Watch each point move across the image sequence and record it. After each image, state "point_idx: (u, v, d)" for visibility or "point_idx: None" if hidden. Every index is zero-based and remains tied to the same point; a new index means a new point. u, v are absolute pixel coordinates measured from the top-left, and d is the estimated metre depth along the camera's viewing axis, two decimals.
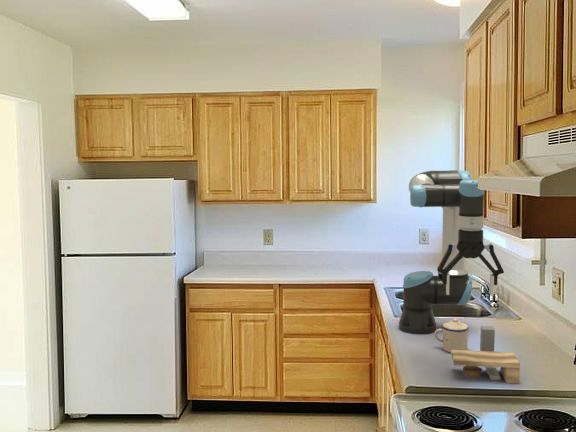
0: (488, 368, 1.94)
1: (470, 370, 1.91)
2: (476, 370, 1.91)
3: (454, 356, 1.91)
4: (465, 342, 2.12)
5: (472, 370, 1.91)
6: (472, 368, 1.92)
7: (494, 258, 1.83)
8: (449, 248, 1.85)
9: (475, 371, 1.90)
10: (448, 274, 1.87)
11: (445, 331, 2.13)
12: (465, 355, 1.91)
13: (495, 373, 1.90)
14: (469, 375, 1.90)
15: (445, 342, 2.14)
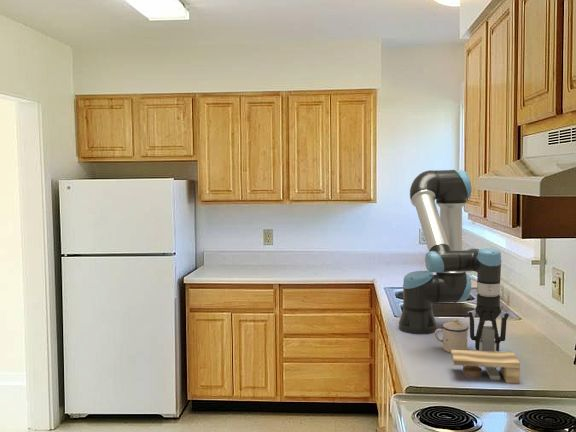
0: (488, 368, 1.94)
1: (470, 370, 1.91)
2: (476, 370, 1.91)
3: (454, 356, 1.91)
4: (465, 342, 2.12)
5: (472, 370, 1.91)
6: (472, 368, 1.92)
7: (503, 325, 2.00)
8: (470, 316, 2.01)
9: (475, 371, 1.90)
10: (480, 341, 2.02)
11: (445, 331, 2.13)
12: (465, 355, 1.91)
13: (495, 373, 1.90)
14: (469, 375, 1.90)
15: (445, 342, 2.14)
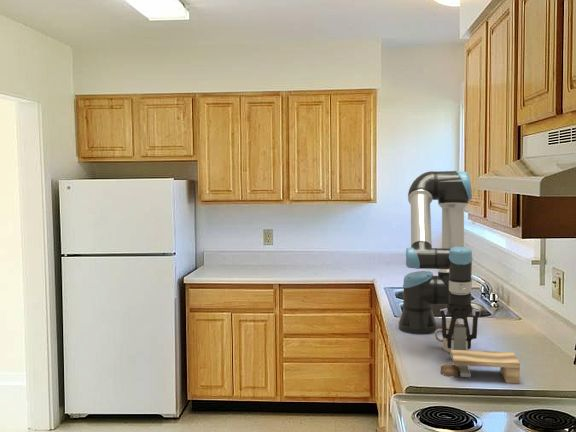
0: (459, 366, 1.96)
1: (448, 369, 1.92)
2: (453, 369, 1.92)
3: (454, 356, 1.91)
4: None
5: (450, 368, 1.92)
6: (449, 367, 1.93)
7: (475, 323, 2.01)
8: (442, 314, 2.03)
9: (452, 370, 1.91)
10: (452, 339, 2.04)
11: None
12: (465, 355, 1.91)
13: (466, 370, 1.91)
14: (447, 374, 1.91)
15: (445, 342, 2.14)
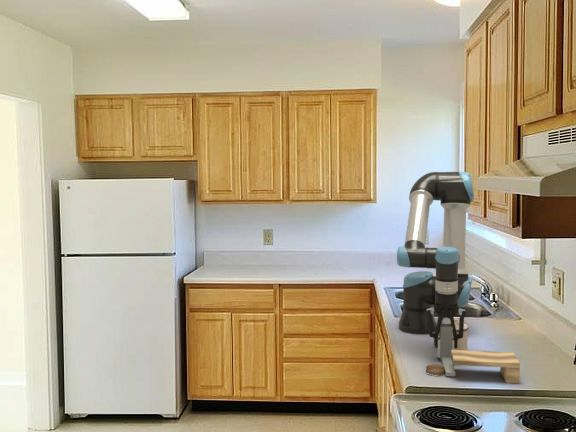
0: (445, 365, 1.96)
1: (433, 369, 1.93)
2: (439, 369, 1.93)
3: (454, 356, 1.91)
4: (465, 342, 2.12)
5: (435, 368, 1.93)
6: (435, 367, 1.94)
7: (461, 323, 2.02)
8: (428, 314, 2.04)
9: (437, 370, 1.92)
10: (439, 339, 2.05)
11: None
12: (465, 355, 1.91)
13: (451, 370, 1.92)
14: None
15: None
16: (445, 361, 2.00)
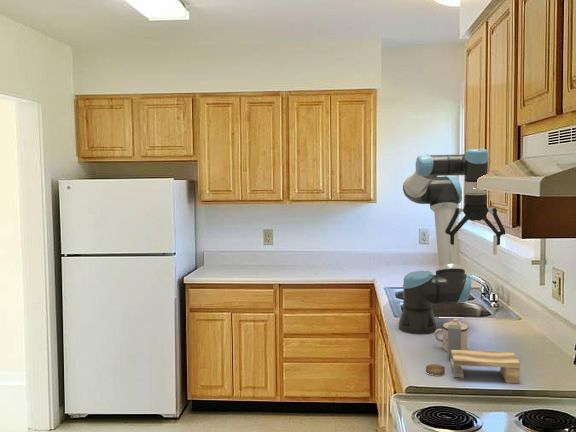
0: (453, 366, 1.96)
1: (433, 369, 1.93)
2: (439, 369, 1.93)
3: (454, 356, 1.91)
4: (465, 342, 2.12)
5: (435, 368, 1.93)
6: (435, 367, 1.94)
7: (497, 220, 2.02)
8: (456, 211, 2.03)
9: (437, 370, 1.92)
10: (455, 235, 2.05)
11: (445, 331, 2.13)
12: (465, 355, 1.91)
13: (459, 371, 1.92)
14: None
15: (445, 342, 2.14)
16: None
